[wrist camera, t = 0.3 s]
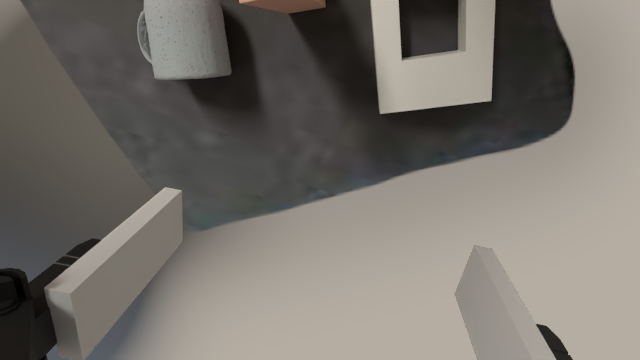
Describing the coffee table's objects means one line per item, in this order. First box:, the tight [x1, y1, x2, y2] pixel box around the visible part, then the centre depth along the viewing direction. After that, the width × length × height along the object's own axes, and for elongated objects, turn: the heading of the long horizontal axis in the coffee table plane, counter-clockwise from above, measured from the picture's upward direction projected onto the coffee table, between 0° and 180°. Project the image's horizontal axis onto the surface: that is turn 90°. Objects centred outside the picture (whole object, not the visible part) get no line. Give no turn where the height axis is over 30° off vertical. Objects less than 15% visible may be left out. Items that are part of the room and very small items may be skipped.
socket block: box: [370, 0, 495, 114], centre depth 34 cm, size 16×11×3 cm
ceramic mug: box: [137, 0, 232, 80], centre depth 35 cm, size 11×8×8 cm
